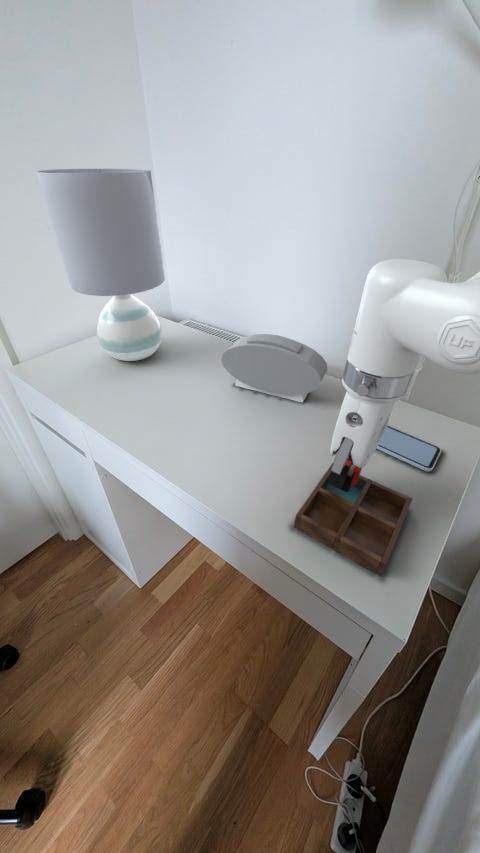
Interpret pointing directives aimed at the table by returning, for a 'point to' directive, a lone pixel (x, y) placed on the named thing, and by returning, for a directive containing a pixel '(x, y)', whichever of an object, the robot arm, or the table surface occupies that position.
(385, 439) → the smartphone
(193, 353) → the table surface
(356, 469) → the red cylinder
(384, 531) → the grid
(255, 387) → the alarm clock
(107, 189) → the lamp
